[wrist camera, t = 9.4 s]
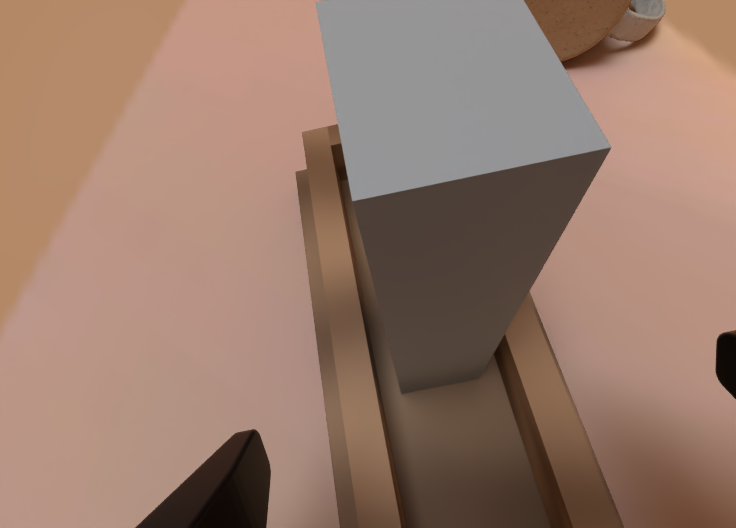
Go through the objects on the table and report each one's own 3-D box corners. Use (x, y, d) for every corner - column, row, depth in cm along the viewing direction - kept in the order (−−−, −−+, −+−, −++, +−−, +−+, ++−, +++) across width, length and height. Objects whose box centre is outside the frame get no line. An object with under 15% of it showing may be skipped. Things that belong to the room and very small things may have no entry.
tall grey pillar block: (478, 378, 16) (612, 147, 5) (401, 394, 16) (352, 201, 5) (451, 284, 18) (500, -39, 7) (382, 298, 18) (315, 2, 7)
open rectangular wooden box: (649, 622, 13) (722, 669, 10) (365, 678, 13) (347, 741, 10) (464, 147, 22) (471, 94, 19) (300, 184, 22) (280, 137, 19)
